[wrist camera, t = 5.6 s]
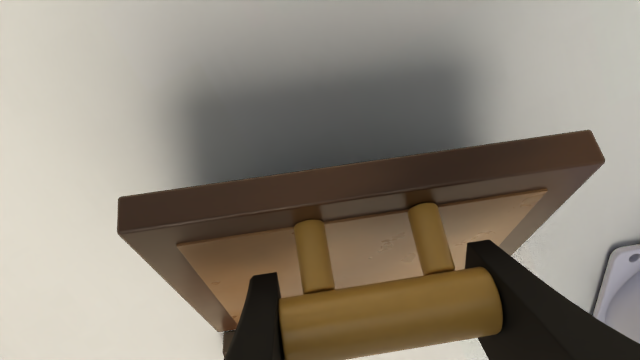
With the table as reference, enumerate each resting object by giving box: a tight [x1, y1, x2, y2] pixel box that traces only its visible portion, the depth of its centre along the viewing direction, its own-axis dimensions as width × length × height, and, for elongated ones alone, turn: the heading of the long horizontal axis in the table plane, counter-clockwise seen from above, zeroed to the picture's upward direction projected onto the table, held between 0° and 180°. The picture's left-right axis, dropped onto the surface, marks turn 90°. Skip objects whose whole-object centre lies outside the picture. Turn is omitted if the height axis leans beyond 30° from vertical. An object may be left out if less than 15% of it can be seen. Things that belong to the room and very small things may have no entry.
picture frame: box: [117, 130, 605, 360], centre depth 17 cm, size 12×12×4 cm
